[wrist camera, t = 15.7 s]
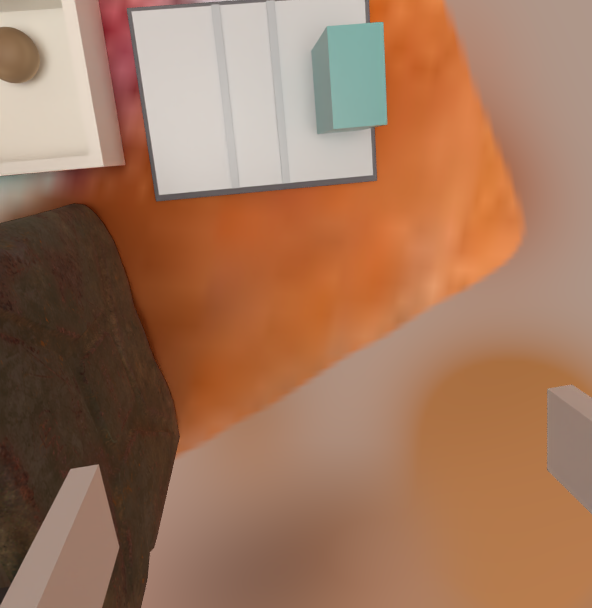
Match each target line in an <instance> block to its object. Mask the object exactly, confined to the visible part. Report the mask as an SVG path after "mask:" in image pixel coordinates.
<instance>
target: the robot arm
mask: <svg viewBox="0 0 592 608" xmlns="http://www.w3.org/2000/svg"><path fill="white" fill-rule="evenodd" d="M547 470H548V471H549V472H550V473H551V474H552V475H553V476H554V477H555V478H556V479H557V480H558V481H559V482H560V483H561V484H562V485H563V486H564V487H565V488H566V489H567V490H568V491H569V492H570V493H571V494H572V495H573V496H574V497H575V498H576V499H577V500H578V501H579V502H580V503H581V504H582V505H583V506H584V507H585V508H586V509H587V510H588V511H589V512H590V513H591V514H592V398H591V397H590V396H588V395H587V394H585V393H584V392H582V391H581V390H579V389H578V388H576V387H575V386H573V385H567V386H561V387H555V388H550V389H548V391H547ZM118 550H119V544H118V540H117V536H116V532H115V528H114V524H113V520H112V516H111V512H110V508H109V504H108V500H107V496H106V492H105V488H104V484H103V480H102V476H101V472H100V468H99V464H98V465H92V466H86V467H80V468H74V469H70V471H69V473H68V475H67V477H66V479H65V481H64V483H63V485H62V487H61V489H60V490H59V492H58V494H57V496H56V498H55V500H54V502H53V504H52V506H51V508H50V510H49V512H48V514H47V516H46V518H45V520H44V522H43V523H42V525H41V527H40V529H39V531H38V533H37V535H36V537H35V539H34V541H33V543H32V545H31V547H30V549H29V551H28V553H27V555H26V556H25V558H24V560H23V562H22V564H21V566H20V568H19V570H18V572H17V574H16V576H15V578H14V580H13V582H12V584H11V586H10V587H4V588H0V608H102V606H103V603H104V599H105V596H106V592H107V589H108V585H109V582H110V578H111V575H112V571H113V568H114V564H115V561H116V557H117V554H118Z"/></svg>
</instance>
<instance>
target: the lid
mask: <svg viewBox="0 0 592 608" xmlns="http://www.w3.org/2000/svg"><path fill="white" fill-rule="evenodd" d="M131 12H132V18H133V25H134V32H135V38H136V45H137V52H138V58H139V65H140V72H141V78H142V85H143V91H144V98H145V105H146V111H147V118H148V125H149V131H150V138H151V144H152V151H153V158H154V164H155V171H156V178H157V184H158V191H159V195H165V194H176V193H186V192H197V191H208V190H219V189H229V188H240V187H251V186H261V185H272V184H285V183H294V182H304V181H315V180H326V179H337V178H347V177H358V176H369V175H373V164H372V143H371V128H374V127H378V126H383V125H387V104H386V79H385V53H384V28H383V22H376V23H366V15H365V0H286V1H274V0H270V1H266V2H258V3H244V4H229V5H219V4H214V5H211V6H201V7H187V8H173V9H159V10H145V11H131Z"/></svg>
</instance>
